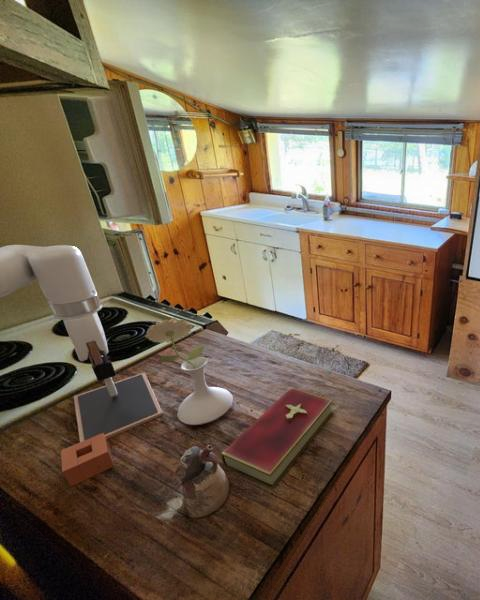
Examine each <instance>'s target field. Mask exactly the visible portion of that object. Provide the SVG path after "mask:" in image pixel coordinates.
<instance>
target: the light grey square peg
mask: <svg viewBox="0 0 480 600" xmlns="http://www.w3.org/2000/svg"><path fill="white" fill-rule="evenodd" d="M102 356H103V355H102ZM102 356H101V357H102ZM103 382H104V384H105V386H107V389H108V391H109V394H110V396H112V397H113V398H116V397H117V394H118V392H117V390H116V387H115V385H114V383H115V382H114V380H113V377H110V378H107V379H104V380H103Z"/></svg>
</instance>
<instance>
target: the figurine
mask: <svg viewBox="0 0 480 600" xmlns="http://www.w3.org/2000/svg"><path fill="white" fill-rule="evenodd" d="M213 449H214V448H213V446H212V445H211V444H208V445H206V447H205V448H204V449H202V448H200V447H199V446H196V445H195V446H191V447H190V448H189V449H186V451H184V453H183V455H182V456H181V457H180V460H179V462H178V467H177V468H176V470H175V474H177V475H179V483H178V485H179V486H182V494H183V497H182V502H183V506H184V508H185V512H186V513H187V515H188V516H189V517H191V518H193V519H194V518H196V519H197V518H203V517H207V516H208V515H210V514H212V513H214V512H216V511H217V510H218V509H219V508H221V507H222V505H224V503H225V502H226V501H227V498H228V497H229V493H230V481H229V478H228V476H227V474H226V472H225V471H224V470H223V468H222V467H221V466H220V465H219V459H218V456H217V454H216V453H214V452H213Z"/></svg>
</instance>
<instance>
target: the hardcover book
mask: <svg viewBox="0 0 480 600" xmlns="http://www.w3.org/2000/svg"><path fill="white" fill-rule="evenodd" d="M333 402H334V401H333V399H330V398H327V397H324V396H322V395H318V394H315V393H313V392H309V391H306V390H303V389H300V388H297V387H294V386H291V387H290V388H289V389H288V390H287V391H286V392H285V393H284V394H282V395H281V397H279V398H278V399H277V400H276V401H275V402H274V403H273V404H272V405H271V406H270V407H268V408H267V410H265V411H264V412H263V413H262V414H261V415H260V416H259V417H258V418H257V419H256V420H255V421H254V422H253V423H252V424H251V425H250V426H248V427H247V428H246V429H245V430H244V431H243V432H242V433H241V434H240V435H239V436H238V437H237V438H236V439H235V440H233V442H232V443H230V445H228V446H227V447H226V448H225V449H224V450H223V451H222V452H221V453H220V458H221V463H222V465H223V466H224V468H225V469H228V470H229V471H232V472H234V473H236V474H238V475H241V476H243V477H245V478H247V479H248V480H251V481H253V482H256V483H258V484H260V485H262V486H265V487H267V488H269V489H271V490H273V489H274V488H275V487H276V486H277V485H278V483H279V482H280V481H281V479H283V477H284V476H285V475H286V473H287V472H288V471H289V469H290V468H291V467H292V466H293V464H294V463H295V462H296V461H297V460H298V458H299V457H300V456H301V455H302V453H303V452H304V450H305V449H306V448H307V447H308V446H309V445H310V443H311V442H312V440H313V439H314V438H315V437H316V435H317V434H318V433H319V431H320V430H321V429H322V428H323V427H324V425H325V424H326V423H327V422H328V421H329V420H330V418H331V417H332V415H333V414H334V411H333V410H332V407H331V406H332V405H331V404H332V403H333Z"/></svg>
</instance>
